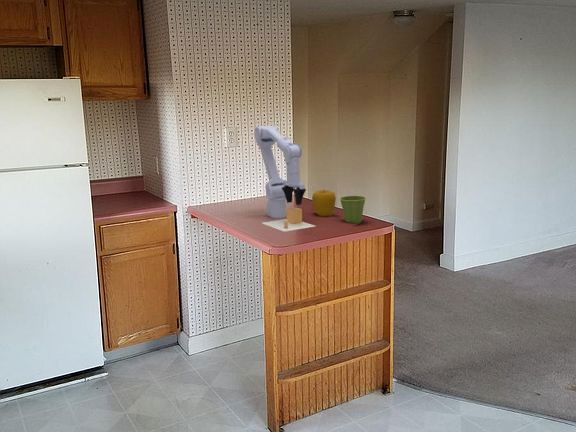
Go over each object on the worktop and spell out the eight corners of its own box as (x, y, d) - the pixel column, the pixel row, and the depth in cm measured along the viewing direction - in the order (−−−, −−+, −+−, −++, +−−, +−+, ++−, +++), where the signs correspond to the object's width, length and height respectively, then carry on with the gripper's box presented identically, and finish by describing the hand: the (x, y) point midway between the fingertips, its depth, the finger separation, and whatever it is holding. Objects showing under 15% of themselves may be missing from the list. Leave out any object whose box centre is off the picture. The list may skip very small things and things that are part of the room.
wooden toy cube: (286, 222, 257) (286, 208, 255) (296, 220, 259) (295, 207, 258) (292, 224, 252) (292, 210, 251) (302, 222, 255) (301, 209, 254)
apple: (307, 217, 270) (307, 190, 267) (323, 213, 277) (322, 186, 275) (325, 220, 262) (325, 192, 260) (340, 216, 270) (340, 189, 267)
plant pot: (348, 218, 264) (348, 194, 262) (371, 221, 257) (371, 197, 255) (334, 223, 256) (334, 198, 253) (356, 227, 248) (356, 201, 246)
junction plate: (261, 225, 256) (260, 215, 255) (291, 220, 264) (291, 210, 263) (284, 233, 240) (283, 223, 239) (316, 228, 248) (315, 218, 247)
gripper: (276, 172, 255) (277, 202, 258) (294, 175, 243) (295, 206, 246) (290, 170, 259) (291, 200, 261) (308, 173, 247) (309, 204, 249)
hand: (294, 203), depth 254 cm, fingers open, 7 cm apart
